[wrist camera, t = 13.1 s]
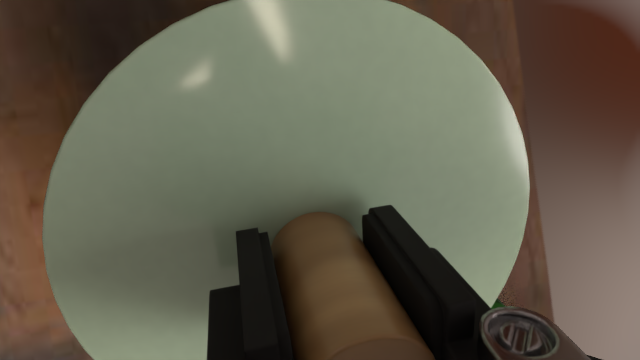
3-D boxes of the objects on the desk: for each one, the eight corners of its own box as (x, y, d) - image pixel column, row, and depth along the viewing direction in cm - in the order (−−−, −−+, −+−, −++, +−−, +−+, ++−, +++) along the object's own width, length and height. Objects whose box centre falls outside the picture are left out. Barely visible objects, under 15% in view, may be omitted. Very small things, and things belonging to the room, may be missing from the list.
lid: (-41, 13, 8) (-404, 15, 3) (542, -30, 10) (815, -66, 6) (127, 455, 13) (74, 704, 8) (497, 361, 15) (621, 517, 10)
